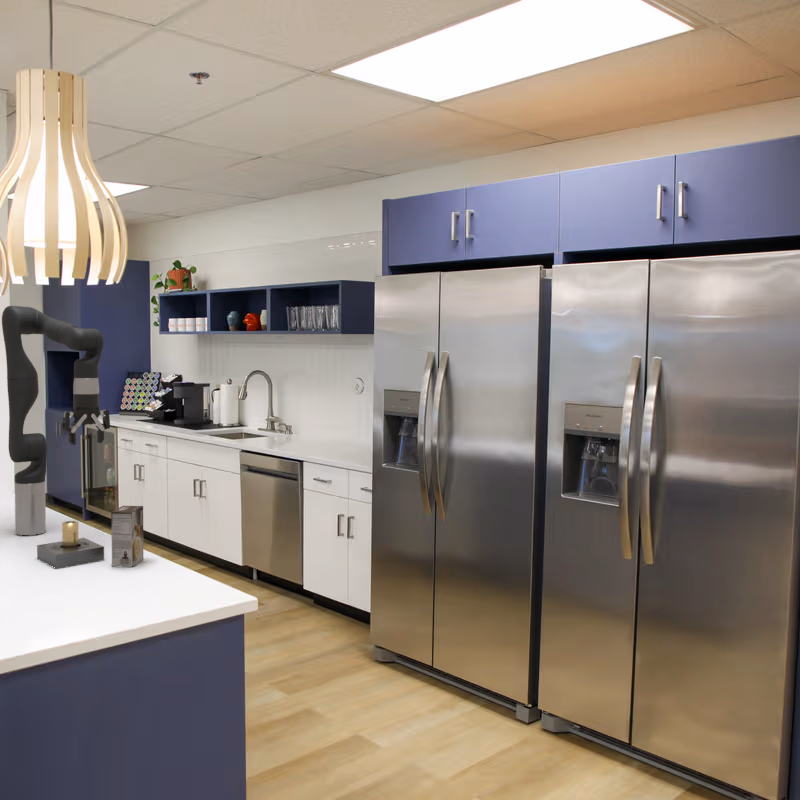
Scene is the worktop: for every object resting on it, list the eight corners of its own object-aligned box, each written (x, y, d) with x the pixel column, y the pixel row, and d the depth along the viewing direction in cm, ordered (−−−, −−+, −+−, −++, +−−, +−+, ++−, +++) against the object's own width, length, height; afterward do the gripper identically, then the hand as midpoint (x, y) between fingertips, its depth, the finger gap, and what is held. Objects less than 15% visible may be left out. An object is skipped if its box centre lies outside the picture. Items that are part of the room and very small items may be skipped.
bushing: (60, 555, 235) (59, 522, 235) (74, 553, 239) (74, 519, 238) (66, 558, 232) (65, 524, 232) (81, 556, 235) (80, 522, 235)
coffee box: (122, 558, 238) (122, 505, 237) (144, 558, 238) (144, 505, 237) (111, 566, 229) (110, 511, 228) (133, 567, 229) (133, 512, 228)
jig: (37, 558, 236) (37, 545, 235) (84, 550, 245) (84, 537, 245) (56, 568, 226) (55, 554, 225) (104, 560, 235) (104, 546, 235)
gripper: (103, 391, 257) (103, 440, 259) (58, 392, 247) (58, 444, 249) (113, 392, 252) (113, 443, 253) (68, 393, 242) (68, 446, 243)
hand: (86, 443), depth 251 cm, fingers open, 8 cm apart
